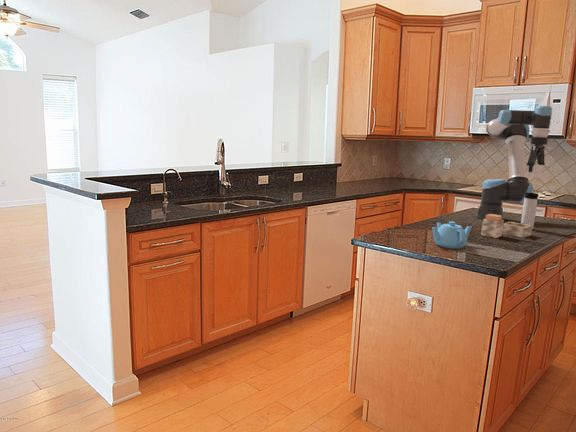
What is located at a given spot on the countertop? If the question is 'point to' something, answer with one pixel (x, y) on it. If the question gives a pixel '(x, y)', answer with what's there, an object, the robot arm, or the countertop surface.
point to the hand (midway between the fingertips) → (534, 177)
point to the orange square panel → (493, 217)
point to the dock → (505, 229)
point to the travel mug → (529, 209)
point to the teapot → (450, 235)
